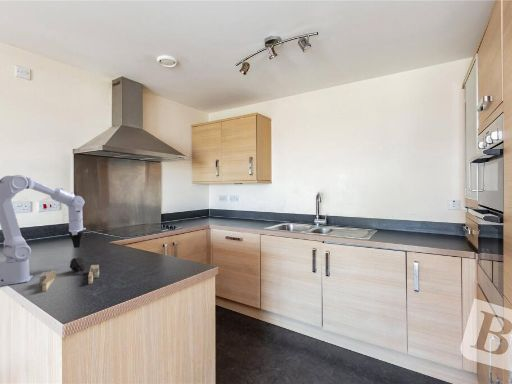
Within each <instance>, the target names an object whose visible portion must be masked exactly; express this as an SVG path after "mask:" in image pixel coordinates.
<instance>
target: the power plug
mask: <svg viewBox="0 0 512 384" xmlns="http://www.w3.org/2000/svg"><path fill="white" fill-rule="evenodd" d="M85 264H86V263H85V260H84V258H83V257H80V256H78V257H73V258H72V259H71V260H70V263H69V269H71V271H72V272H74V271H75V272H76V271H80V272H82V274H83V275H84V276H85V275H86V272H85Z"/></svg>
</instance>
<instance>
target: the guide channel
mask: <svg viewBox="0 0 512 384" xmlns="http://www.w3.org/2000/svg"><path fill="white" fill-rule="evenodd" d="M89 268H90V269H89V272H88V277H87V278H88V280H87V281H88V285H90V284H93V281H94V279H96V278H97V279H98V278H100V264H91V265H90V267H89ZM55 278H56V270H55V269H53V270H50V271H43V272H42V273H41V274H40V276H39V286H40V288H41V287H42V288H41V290H42V293H43V292H47V291H48V289H49V288H50V287H51V285H52V283H53V281H54V280H55Z"/></svg>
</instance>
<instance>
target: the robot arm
mask: <svg viewBox="0 0 512 384" xmlns="http://www.w3.org/2000/svg"><path fill="white" fill-rule="evenodd" d="M26 189H27V190H28V189H30V190H34V191H37V192H39V193H43V194H45V195H47V196H50V198H51V200H53V201H56V202H58V203H60V204H63V205H65V206H66V207H67V208H68V209H67V210H68V214H67V215H68V232H70V233H69V234H68V237H70V239H71V241H72V244H73V245H72V246H73V248H74V249H78V248H80V246H81V241H82V237H83V235H84V231H85V230H87V228H86V227H84V220H83V218H84V217H83V207H84V205H85V203H86V202H85V200H84V198H83V197H82V196H81V195H76V194H75V193H74V192H69V191H66V189H65V188H61V187H60V188H58V187H57V188H55V189H54V188H52V187H50V186H49V185H45V184H44V183H42V182H39V181H38V180H35V179H33V178H31V177H27V176H24V175H22V174H15V175H5V176H2V177H1V178H0V227H1V230H2V235H3V238H4V240H3V242H2V244H3V249H2V254H3V256H4V257H6V258H5V260H4V261H0V287H1V286H10V285H14V284H23V283H28V282H29V281H30V280H31V279H32V278H33V276H34V275H31V274H30V259H29V257H30V256H31V253H32V249H31V247H30V246H29V245H28V243H27V241H26V240H25V238H24V237H23V236H22V233H21V230H20V226H19V222H18V218H17V215H16V213H15V208H14V206H13V205H14V204H13V202H12V199H13V198H14V197H15V196H16V195H17V194H18V193H20V192H23V191H24V190H26Z"/></svg>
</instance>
